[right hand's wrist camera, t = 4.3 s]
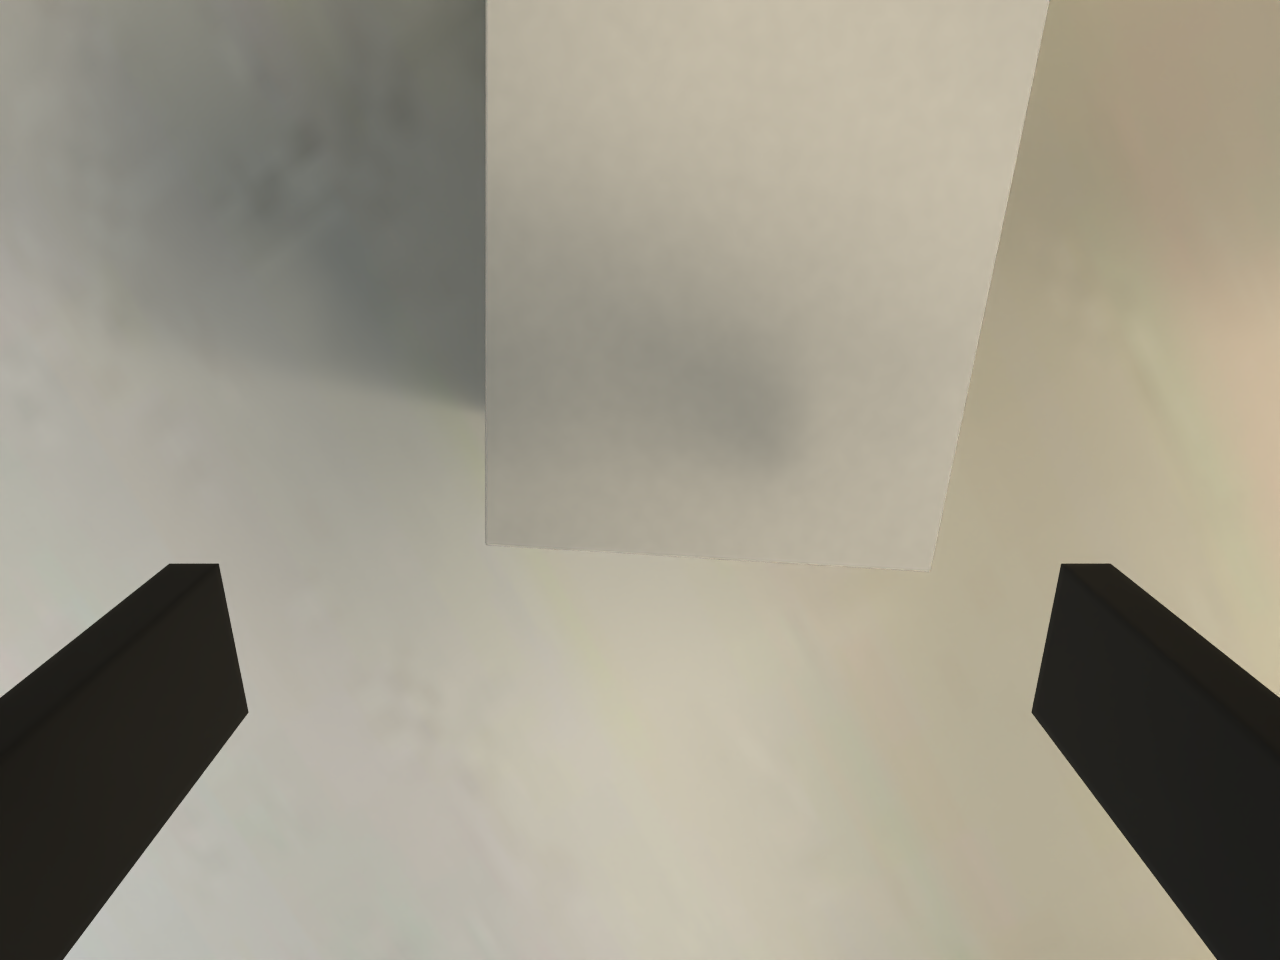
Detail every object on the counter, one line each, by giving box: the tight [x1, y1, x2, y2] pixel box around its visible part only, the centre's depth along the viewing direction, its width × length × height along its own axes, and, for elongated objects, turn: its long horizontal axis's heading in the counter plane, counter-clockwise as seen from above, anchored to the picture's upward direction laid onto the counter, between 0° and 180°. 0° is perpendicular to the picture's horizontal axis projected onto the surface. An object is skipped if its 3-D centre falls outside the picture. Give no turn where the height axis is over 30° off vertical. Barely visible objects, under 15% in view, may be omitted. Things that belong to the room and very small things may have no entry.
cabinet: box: [485, 0, 1050, 572], centre depth 20 cm, size 22×11×10 cm, turn 176°
